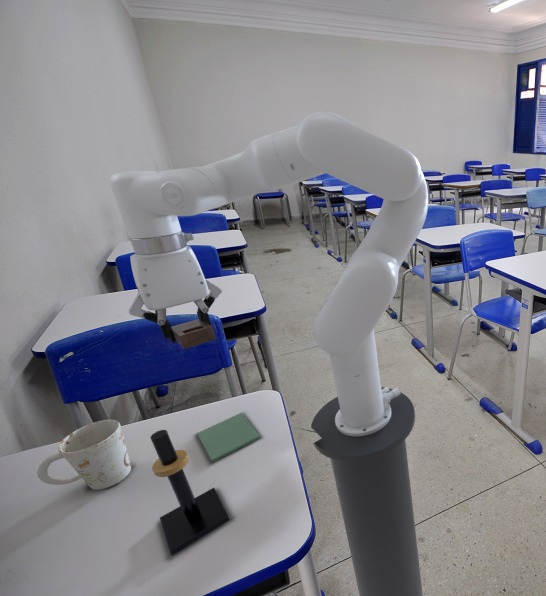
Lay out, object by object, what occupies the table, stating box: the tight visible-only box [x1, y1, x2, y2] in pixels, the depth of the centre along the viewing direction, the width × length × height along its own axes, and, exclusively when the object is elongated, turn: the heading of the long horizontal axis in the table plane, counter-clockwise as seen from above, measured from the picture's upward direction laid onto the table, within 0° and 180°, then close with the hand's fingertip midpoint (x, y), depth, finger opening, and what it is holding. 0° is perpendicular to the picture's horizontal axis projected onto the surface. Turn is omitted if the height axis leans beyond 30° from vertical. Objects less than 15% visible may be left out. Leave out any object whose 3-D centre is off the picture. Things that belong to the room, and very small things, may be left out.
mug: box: [36, 419, 132, 491], centre depth 68 cm, size 8×13×10 cm, turn 124°
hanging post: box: [150, 429, 230, 556], centre depth 58 cm, size 8×8×18 cm
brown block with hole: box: [171, 318, 217, 350], centre depth 70 cm, size 12×5×2 cm, turn 45°
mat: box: [196, 412, 261, 463], centre depth 79 cm, size 9×11×1 cm
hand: (189, 334), depth 73 cm, fingers closed on brown block with hole, 5 cm apart
